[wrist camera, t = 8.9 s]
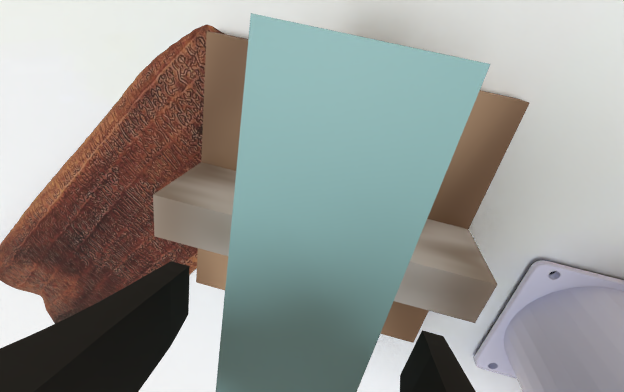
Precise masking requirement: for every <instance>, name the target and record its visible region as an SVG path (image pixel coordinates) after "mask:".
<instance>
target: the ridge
mask: <svg viewBox="0 0 624 392" xmlns="http://www.w3.org/2000/svg"><path fill="white" fill-rule="evenodd" d="M247 50H248V39H244V38H239V37H235V36H230V35H226V34H221V33H216V32H207V35H206V59H205V84H204V108H203V132H202V157H201V163H199V164H198V165H197V166H195V167H194V168H192V169H191V170H189V171H188V172H186V173H185V174H183V175H182V176H180V177H179V178H177V179H176V180H174V181H173V182H171V183H170V184H168V185H167V186H165V187H164V188H162V189H161V190H159V191H158V192H156V193H155V194H153V207H154V236H155V237H159V238H162V239H166V240H170V241H174V242H177V243H181V244H185V245H188V246H192V247H196V248H198V255H197V279H196V282H197V283H201V284H204V285H208V286H212V287H215V288H219V289H222V290H225V288H226V277H227V266H228V255H229V244H230V234H231V223H232V212H233V201H234V190H235V180H236V169H237V158H238V147H239V137H240V126H241V115H242V104H243V93H244V83H245V72H246V61H247ZM528 105H529V102H526V101H523V100H520V99H516V98H512V97H507V96H502V95H498V94H493V93H489V92H484V91H479V93H478V96H477V98H476V101H475V103H474V105H473V108H472V110H471V113H470V115H469V118H468V120H467V123H466V125H465V127H464V130H463V132H462V135H461V137H460V140H459V142H458V145H457V147H456V149H455V152H454V154H453V157H452V159H451V162H450V164H449V167H448V169H447V171H446V174H445V176H444V179H443V181H442V184H441V186H440V189H439V191H438V193H437V196H436V198H435V201H434V203H433V206H432V208H431V211H430V213H429V216H428V218H427V220H426V223H425V225H424V228H423V230H422V233H421V235H420V238H419V240H418V242H417V245H416V247H415V250H414V252H413V255H412V257H411V260H410V262H409V264H408V267H407V269H406V272H405V274H404V277H403V279H402V282H401V284H400V286H399V289H398V291H397V294H396V296H395V299H394V301H393V304H392V306H391V308H390V311H389V313H388V316H387V318H386V321H385V323H384V326H383V328H382V330H381V333H380V334H384V335H388V336H391V337H395V338H398V339H402V340H406V341H409V342H414V340H415V338H416V336H417V334H418V332H419V330H420V328H421V326H422V324H423V321H424V319H425V317H426V315H427V313H428V311H432V312H436V313H440V314H444V315H447V316H451V317H455V318H458V319H462V320H466V321H469V322H473V323H475V322H476V320H477V318H478V317H479V315H480V313H481V311H482V310H483V308H484V306H485V305H486V303H487V301H488V300H489V298H490V296H491V294H492V293H493V291H494V289H495V288H496V286H497V283H496V281H495V279H494V277H493V275H492V273H491V272H490V270H489V268H488V266H487V264H486V262H485V260H484V258H483V256H482V254H481V252H480V251H479V249H478V247H477V245H476V243H475V241H474V239H473V237H472V235H471V233H470V232H469V230H468V229H469V227H470V225H471V223H472V220H473V218H474V216H475V214H476V212H477V210H478V208H479V206H480V204H481V202H482V200H483V198H484V196H485V194H486V192H487V190H488V187H489V185H490V183H491V181H492V179H493V177H494V175H495V173H496V171H497V169H498V167H499V165H500V163H501V161H502V159H503V157H504V154H505V152H506V150H507V148H508V146H509V144H510V142H511V140H512V138H513V136H514V134H515V132H516V130H517V128H518V126H519V124H520V122H521V119H522V117H523V115H524V113H525V111H526V109H527V107H528Z"/></svg>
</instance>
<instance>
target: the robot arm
mask: <svg viewBox="0 0 624 392" xmlns="http://www.w3.org/2000/svg"><path fill="white" fill-rule="evenodd" d="M189 269H190V266H187V265H183V264H180V263H176V262H173V261H170V262H169V263H167V264H165V265H163V266H161V267H160V268H158V269H156V270H154V271H152V272H151V273H149V274H147V275H146V276H144V277H142V278H140V279H139V280H137V281H135V282H133V283H132V284H130V285H128V286H126V287H125V288H123V289H121V290H119V291H117V292H115V293H114V294H112V295H110V296H108V297H106V298H105V299H103V300H101V301H99V302H97V303H95V304H94V305H92V306H90V307H88V308H86V309H84V310H82V311H80V312H78V313H76V314H74V315H72V316H70V317H68V318H66V319H64V320H62V321H60V322H58V323H56V324H54V325H52V326H50V327H48V328H46V329H44V330H41V331H39V332H37V333H35V334H33V335H30V336H28V337H26V338H24V339H21V340H19V341H17V342H14V343H12V344H10V345H7V346H5V347H3V348H0V392H138V391H139V390H140V388H141V387H142V385H143V384H144V383H145V381H146V380H147V379H148V377H149V376H150V374H151V373H152V372H153V370H154V369H155V367H156V366H157V364H158V363H159V362H160V360H161V359H162V357H163V356H164V355H165V353H166V352H167V350H168V349H169V347H170V346H171V344H172V343H173V341H174V339H175V337H176V336H177V334H178V332H179V330H180V328H181V327H182V325H183V323H184V321H185V319H186V317H187V316H188V304H189ZM553 271H556V272H555V273H554V274H551V275H549V273H551V272H553ZM474 361H475V364H476V366H477V367H479V368H482V369H485V370H489V371H492V372H496V373H499V374H503V375H507V376H510V377H514V378H517V379H518V382H519V384H520V386H521V388H522V391H523V392H624V280H620V279H616V278H612V277H608V276H604V275H600V274H597V273H593V272H589V271H585V270H581V269H577V268H573V267H569V266H565V265H561V264H557V263H553V262H549V261H544V260H541V261H537V262H535V263H533V264H532V265H531V267H530V268H529V270H528V271H527V273H526V275H525V276H524V278H523V279H522V281H521V283H520V284H519V286H518V287H517V289H516V291H515V292H514V294H513V295H512V297H511V299H510V300H509V302H508V303H507V305H506V307H505V308H504V310H503V311H502V313H501V315H500V316H499V318H498V319H497V321H496V323H495V324H494V326H493V327H492V329H491V331H490V332H489V334H488V335H487V337H486V339H485V340H484V342H483V343H482V345H481V347H480V348H479V350H478V351H477V353H476V355H475V356H474ZM400 392H475V390H474V388H473V387H472V385H471V383H470V381H469V380H468V378H467V376H466V375H465V373H464V371H463V369H462V368H461V366H460V364H459V363H458V361H457V359H456V357H455V356H454V354H453V352H452V350H451V349H450V347H449V345H448V344H447V342H446V340H445V338H444V337H443V336H440V335H437V334H433V333H429V332H426V331H422V332H421V334H420V336H419V338H418V340H417V342H416V344H415V346H414V348H413V351H412V353H411V355H410V357H409V359H408V361H407V363H406V365H405V367H404V369H403V371H402V373H401V375H400Z"/></svg>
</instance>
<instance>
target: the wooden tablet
mask: <svg viewBox="0 0 624 392" xmlns="http://www.w3.org/2000/svg"><path fill="white" fill-rule="evenodd" d="M207 32H216V33H221V34H224V33H222V32H220V31H219V30H217V29H216V28H214V27H213V26H210V25H204V26H202V27H200V28H197V29H195V30H193V31H192V32H191V33H190V34H188V35H186V36H184V37H183V38H181V39H180V40H179V41H178V42H176V43H174V44H173V45H171V46H170V47H169V48H168V49H167V50H165V51H164V52H163V53H161V54H160V55H158V56H157V57H156V58H155V59H154V60H153V61H152V62H151V63H150V64H149V65H148V66H147V67H146V68H145V69H144V70H143V71H142V72H141V73H140V74H139V75H138V76H137V77H136V79H135V80H134V82H133V83H132V84H131V85H130V86H129V87H128V88H127V90H126V91H125V92H124V94H123V95H122V97H121V98H120V99H119V101H118V102H117V103H116V104H115V105H114V106H113V107H112V109H111V110H110V112H109V113H108V114H107V115H106V116H105V117H104V119H103V120H102V121H101V122H100V123H99V125H98V126H97V127H96V128H95V129H94V131H93V132H92V133H91V134H90V136H89V137H88V138H87V139H86V140H85V142H84V143H83V144H82V145H81V146H80V147H79V149H78V150H77V151H76V152H75V153H74V154H73V155H72V156H71V157H70V158H69V160H68V161H67V162H66V163H65V164H64V165H63V167H62V168H61V169H60V170H59V172H58V173H57V174H56V175H55V176H54V177H53V178H52V180H51V181H50V182H49V183H48V184H47V186H46V187H45V188H44V189H43V190H42V192H41V193H40V194H39V195H38V196H37V197H36V199H35V200H34V201H33V202H32V204H31V205H30V207H29V208H28V209H27V210H26V211H25V212H24V214H23V215H22V216H21V218H20V219H19V221H18V222H17V224H16V225H15V226H14V228H13V229H12V230H11V231H10V233H9V234H8V235H7V236H6V238H5V239H4V240H3V241H2V243H1V245H0V280H1V281H2V282H4V283H5V284H7V285H9V286H11V287H14V288H17V289H19V290H23V291H28V292H31V293H35V294H38V295H40V296H41V297H42V298H43V300H44V303H45V307H46V310H47V312H48V313H49V315H50V316H51V318H52V320H53V321H54V323H55V324H56V323H58V322H60V321H62V320H64V319H66V318H68V317H70V316H72V315H74V314H76V313H78V312H80V311H82V310H84V309H86V308H88V307H90V306H92V305H94V304H95V303H97V302H99V301H101V300H103V299H105V298H106V297H108V296H110V295H112V294H114V293H115V292H117V291H119V290H121V289H123V288H125V287H126V286H128V285H130V284H132V283H133V282H135V281H137V280H139V279H140V278H142V277H144V276H146V275H147V274H149V273H151V272H152V271H154V270H156V269H158V268H160V267H161V266H163V265H165V264H167V263H169V262H170V261H173V262H176V263H180V264H183V265H187V266H190V269H189V275H190V274H191V273H192V272H193V271H194V270H195V269H196V268H197V255H198V248H196V247H192V246H188V245H185V244H181V243H177V242H174V241H170V240H166V239H162V238H159V237H155V236H154V207H153V194H155V193H156V192H158V191H159V190H161V189H162V188H164V187H165V186H167V185H168V184H170V183H171V182H173V181H174V180H176V179H177V178H179V177H180V176H182V175H183V174H185V173H186V172H188V171H189V170H191V169H192V168H194V167H195V166H197V165H198V164H199V163H201V157H202V132H203V108H204V84H205V59H206V35H207Z"/></svg>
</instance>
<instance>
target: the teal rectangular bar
mask: <svg viewBox="0 0 624 392" xmlns="http://www.w3.org/2000/svg"><path fill="white" fill-rule="evenodd" d="M489 66H490V64H487V63H482V62H477V61H473V60H468V59H463V58H459V57H454V56H449V55H445V54H440V53H435V52H430V51H426V50H421V49H416V48H412V47H407V46H402V45H398V44H393V43H388V42H383V41H379V40H374V39H369V38H365V37H360V36H355V35H351V34H346V33H341V32H336V31H332V30H327V29H322V28H318V27H313V26H308V25H304V24H299V23H294V22H289V21H285V20H280V19H275V18H271V17H266V16H261V15H257V14H252V13H251V18H250V29H249V40H248V50H247V61H246V72H245V83H244V93H243V104H242V115H241V126H240V137H239V147H238V158H237V169H236V180H235V190H234V201H233V212H232V223H231V234H230V244H229V255H228V266H227V277H226V288H225V298H224V309H223V320H222V331H221V341H220V352H219V363H218V374H217V385H216V392H357V389H358V387H359V384H360V382H361V379H362V377H363V375H364V372H365V370H366V367H367V365H368V362H369V360H370V357H371V355H372V353H373V350H374V348H375V345H376V343H377V340H378V338H379V335H380V333H381V330H382V328H383V326H384V323H385V321H386V318H387V316H388V313H389V311H390V308H391V306H392V304H393V301H394V299H395V296H396V294H397V291H398V289H399V286H400V284H401V282H402V279H403V277H404V274H405V272H406V269H407V267H408V264H409V262H410V260H411V257H412V255H413V252H414V250H415V247H416V245H417V242H418V240H419V238H420V235H421V233H422V230H423V228H424V225H425V223H426V220H427V218H428V216H429V213H430V211H431V208H432V206H433V203H434V201H435V198H436V196H437V193H438V191H439V189H440V186H441V184H442V181H443V179H444V176H445V174H446V171H447V169H448V167H449V164H450V162H451V159H452V157H453V154H454V152H455V149H456V147H457V145H458V142H459V140H460V137H461V135H462V132H463V130H464V127H465V125H466V123H467V120H468V118H469V115H470V113H471V110H472V108H473V105H474V103H475V101H476V98H477V96H478V93H479V91H480V88H481V86H482V83H483V81H484V78H485V76H486V74H487V71H488V69H489Z"/></svg>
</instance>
